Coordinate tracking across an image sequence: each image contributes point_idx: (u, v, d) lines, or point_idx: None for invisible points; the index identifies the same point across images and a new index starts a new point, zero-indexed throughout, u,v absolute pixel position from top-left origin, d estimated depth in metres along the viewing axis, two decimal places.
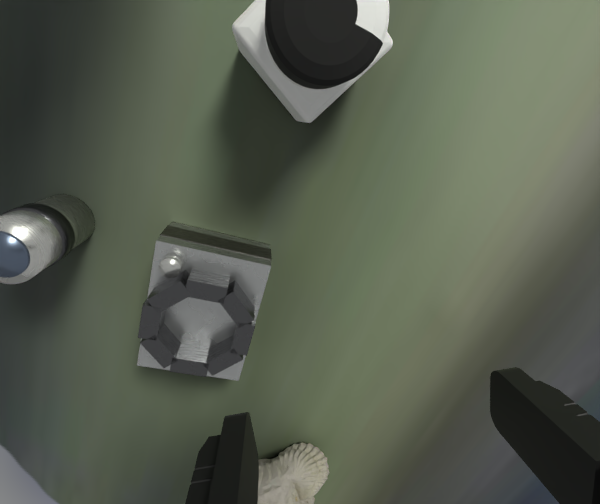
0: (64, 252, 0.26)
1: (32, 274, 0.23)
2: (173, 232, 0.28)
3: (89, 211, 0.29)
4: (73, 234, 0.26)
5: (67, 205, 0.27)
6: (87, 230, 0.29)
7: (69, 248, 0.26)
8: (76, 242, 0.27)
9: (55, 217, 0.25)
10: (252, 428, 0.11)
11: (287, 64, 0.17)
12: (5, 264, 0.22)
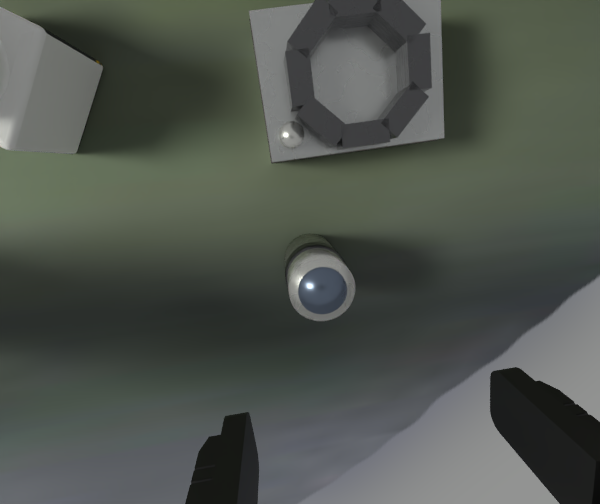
0: (320, 245, 0.25)
1: (336, 262, 0.22)
2: None
3: (292, 241, 0.29)
4: (305, 244, 0.26)
5: (286, 258, 0.28)
6: (308, 237, 0.28)
7: (318, 243, 0.25)
8: (317, 241, 0.27)
9: (288, 261, 0.25)
10: (252, 428, 0.11)
11: None
12: (331, 285, 0.22)
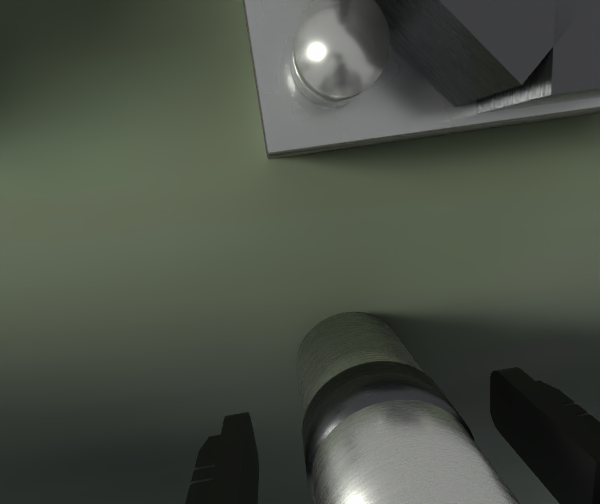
0: (405, 388, 0.09)
1: None
2: None
3: (315, 330, 0.13)
4: (356, 366, 0.10)
5: (303, 381, 0.12)
6: (352, 327, 0.12)
7: (394, 373, 0.09)
8: (380, 351, 0.11)
9: (314, 423, 0.09)
10: (252, 428, 0.11)
11: None
12: None
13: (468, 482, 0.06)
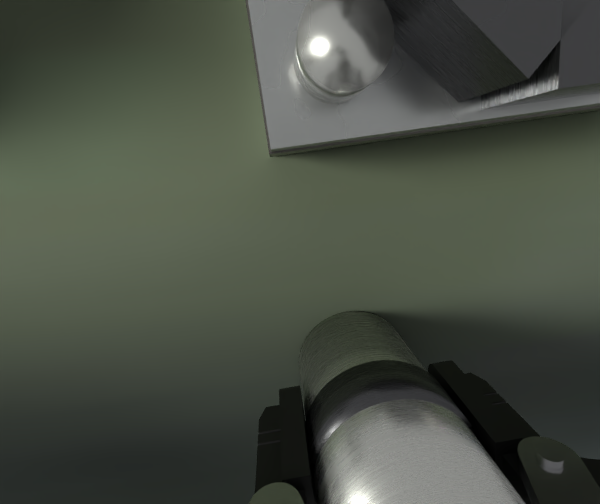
0: (409, 388, 0.09)
1: None
2: None
3: (317, 329, 0.13)
4: (358, 365, 0.10)
5: (305, 380, 0.12)
6: (354, 327, 0.12)
7: (397, 372, 0.09)
8: (383, 350, 0.11)
9: (317, 423, 0.09)
10: None
11: None
12: None
13: (474, 482, 0.06)
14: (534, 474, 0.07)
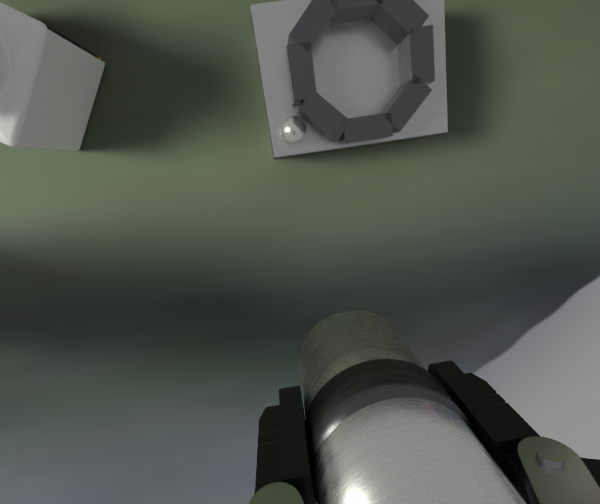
0: (409, 386, 0.09)
1: None
2: None
3: (316, 328, 0.13)
4: (358, 364, 0.10)
5: (305, 379, 0.12)
6: (354, 326, 0.12)
7: (397, 371, 0.09)
8: (383, 349, 0.11)
9: (317, 422, 0.09)
10: None
11: None
12: None
13: (473, 480, 0.06)
14: (534, 474, 0.07)
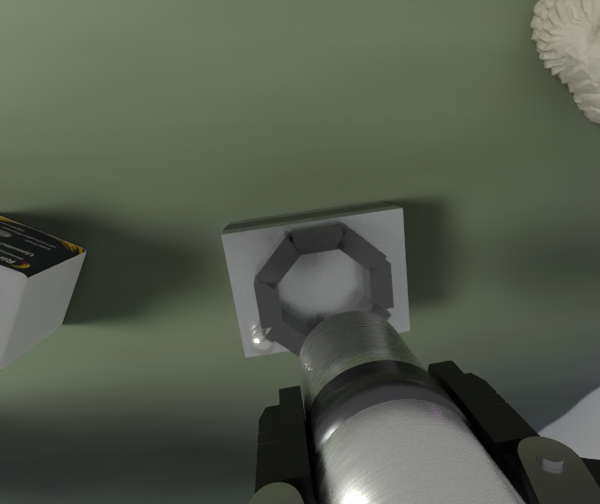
0: (409, 388, 0.09)
1: None
2: None
3: (317, 329, 0.13)
4: (359, 366, 0.10)
5: (305, 380, 0.12)
6: (354, 326, 0.12)
7: (397, 372, 0.09)
8: (383, 350, 0.11)
9: (317, 423, 0.09)
10: None
11: None
12: None
13: (474, 482, 0.06)
14: (534, 474, 0.07)
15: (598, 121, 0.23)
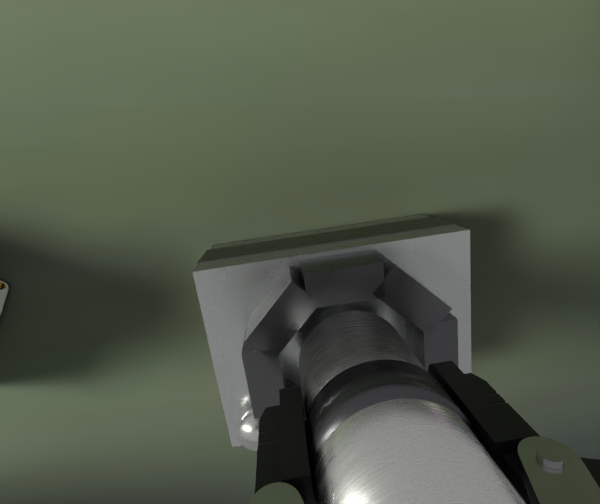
0: (409, 387, 0.09)
1: None
2: None
3: (316, 329, 0.13)
4: (358, 365, 0.10)
5: (305, 380, 0.12)
6: (354, 326, 0.12)
7: (397, 371, 0.09)
8: (383, 350, 0.11)
9: (317, 422, 0.09)
10: None
11: None
12: None
13: (474, 481, 0.06)
14: (534, 474, 0.07)
15: None
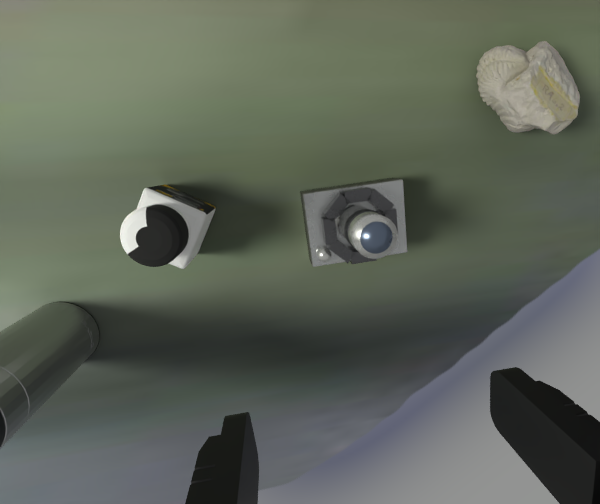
0: (371, 210, 0.36)
1: (385, 218, 0.33)
2: None
3: (345, 211, 0.41)
4: (359, 210, 0.37)
5: (343, 222, 0.39)
6: (358, 207, 0.40)
7: (369, 209, 0.37)
8: None
9: (348, 221, 0.37)
10: (252, 428, 0.11)
11: (180, 246, 0.34)
12: (382, 234, 0.33)
13: (380, 215, 0.34)
14: None
15: (513, 131, 0.41)
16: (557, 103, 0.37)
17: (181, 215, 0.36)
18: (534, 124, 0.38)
